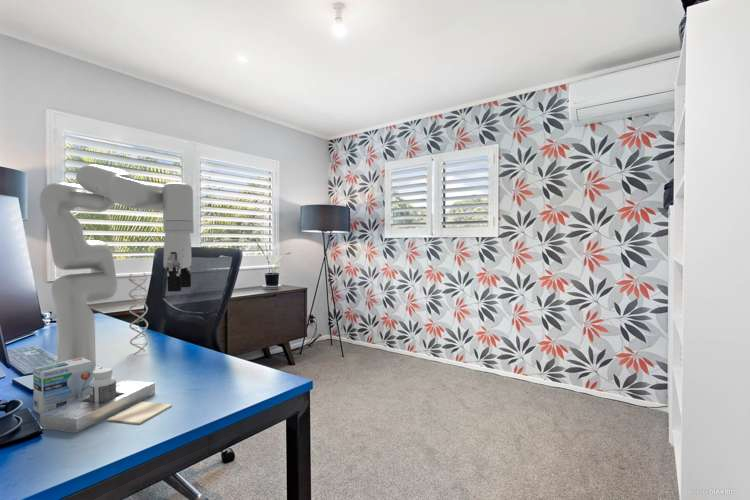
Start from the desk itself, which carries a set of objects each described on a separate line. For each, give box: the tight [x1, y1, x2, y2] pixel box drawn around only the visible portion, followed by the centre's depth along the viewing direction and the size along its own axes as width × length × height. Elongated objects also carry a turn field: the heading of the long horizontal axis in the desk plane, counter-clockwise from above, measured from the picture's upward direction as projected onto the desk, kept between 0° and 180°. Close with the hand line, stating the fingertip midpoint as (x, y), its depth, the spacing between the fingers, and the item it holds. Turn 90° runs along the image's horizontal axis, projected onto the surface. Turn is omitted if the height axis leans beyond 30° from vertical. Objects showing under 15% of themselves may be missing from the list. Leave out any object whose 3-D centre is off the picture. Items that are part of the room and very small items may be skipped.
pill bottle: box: [89, 367, 117, 404], centre depth 95 cm, size 5×5×10 cm
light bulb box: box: [32, 357, 94, 415], centre depth 97 cm, size 11×7×11 cm, turn 148°
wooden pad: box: [106, 401, 173, 425], centre depth 93 cm, size 9×10×1 cm
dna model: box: [127, 272, 149, 356], centre depth 144 cm, size 7×6×30 cm
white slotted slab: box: [39, 379, 156, 434], centre depth 95 cm, size 10×22×3 cm, turn 168°
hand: (179, 289), depth 107 cm, fingers open, 9 cm apart
